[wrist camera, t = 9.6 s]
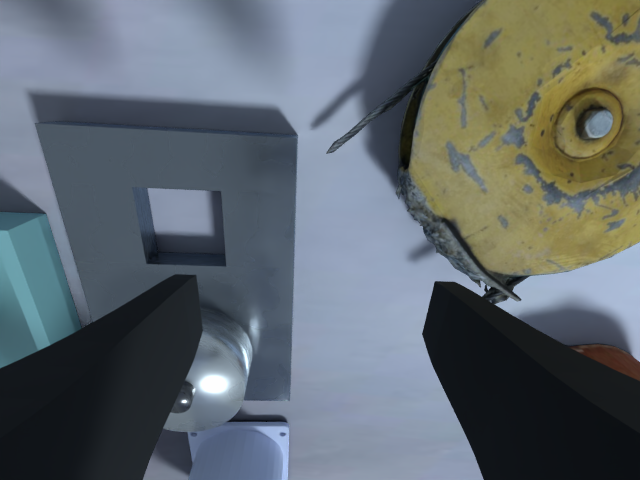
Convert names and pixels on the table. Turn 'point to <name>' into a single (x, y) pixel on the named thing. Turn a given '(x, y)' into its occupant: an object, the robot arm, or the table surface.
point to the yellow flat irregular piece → (525, 139)
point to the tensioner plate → (211, 269)
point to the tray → (31, 288)
